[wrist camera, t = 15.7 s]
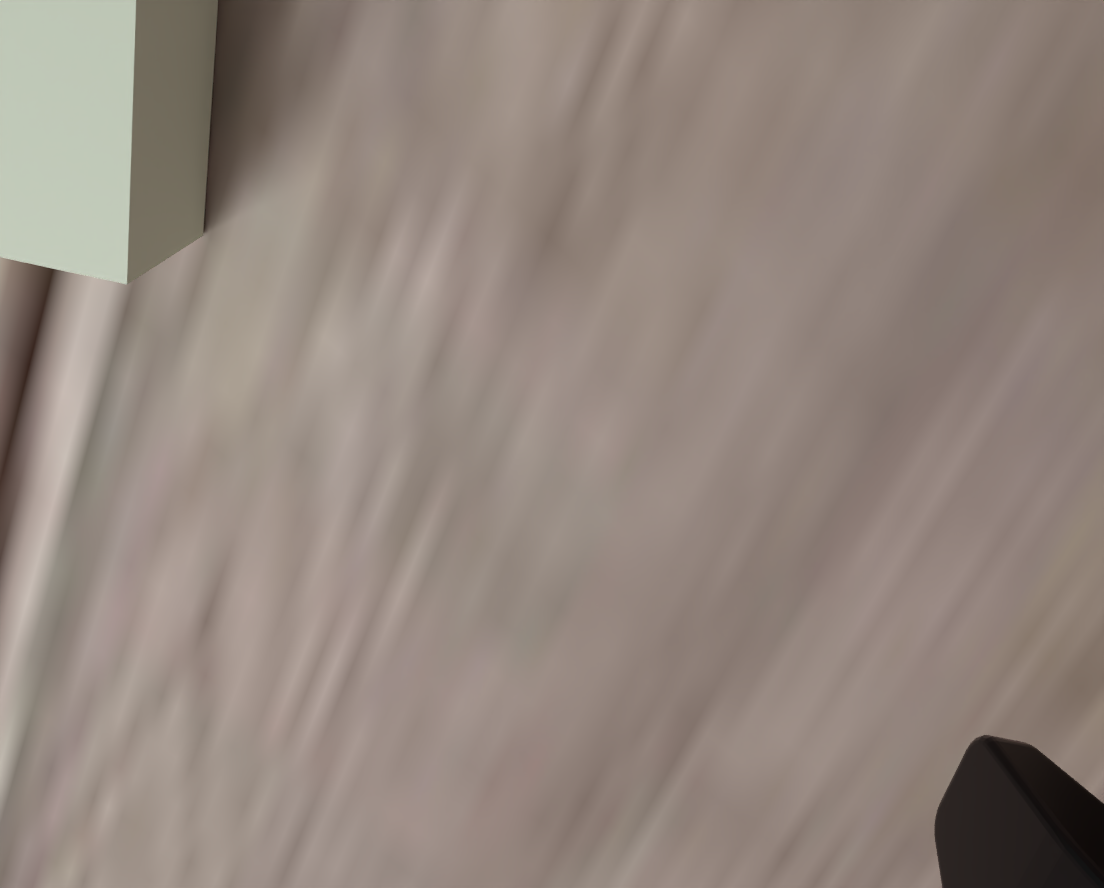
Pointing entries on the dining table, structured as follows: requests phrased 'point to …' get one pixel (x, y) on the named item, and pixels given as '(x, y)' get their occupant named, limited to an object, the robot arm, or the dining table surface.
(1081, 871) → the robot arm
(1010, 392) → the dining table surface
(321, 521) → the dining table surface
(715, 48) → the dining table surface
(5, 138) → the socket block
